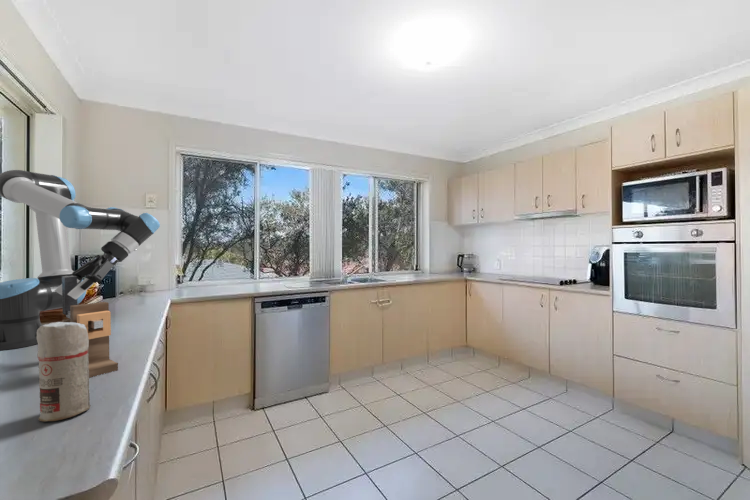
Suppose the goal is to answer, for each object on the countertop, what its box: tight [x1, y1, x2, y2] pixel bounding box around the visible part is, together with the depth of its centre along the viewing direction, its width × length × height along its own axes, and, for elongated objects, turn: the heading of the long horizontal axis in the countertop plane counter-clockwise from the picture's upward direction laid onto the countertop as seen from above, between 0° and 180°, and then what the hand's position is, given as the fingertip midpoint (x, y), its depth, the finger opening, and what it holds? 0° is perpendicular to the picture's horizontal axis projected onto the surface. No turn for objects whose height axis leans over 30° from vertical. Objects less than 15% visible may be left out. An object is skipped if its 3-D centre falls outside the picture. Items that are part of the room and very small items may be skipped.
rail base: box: [61, 301, 119, 379], centre depth 101 cm, size 30×8×19 cm, turn 56°
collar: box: [77, 310, 112, 339], centre depth 96 cm, size 2×7×7 cm, turn 146°
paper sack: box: [37, 321, 91, 422], centre depth 72 cm, size 8×8×20 cm
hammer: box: [61, 276, 103, 329], centre depth 101 cm, size 28×3×13 cm, turn 56°
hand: (64, 295), depth 107 cm, fingers open, 13 cm apart
